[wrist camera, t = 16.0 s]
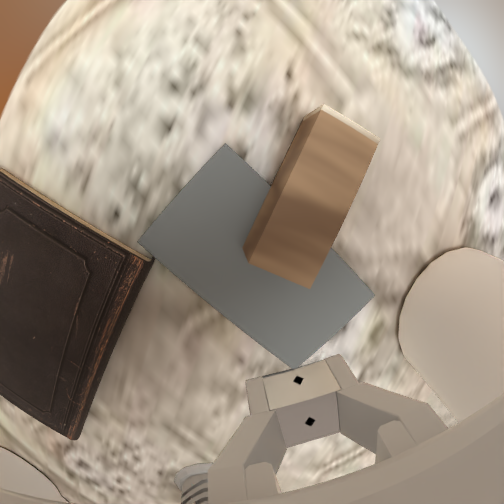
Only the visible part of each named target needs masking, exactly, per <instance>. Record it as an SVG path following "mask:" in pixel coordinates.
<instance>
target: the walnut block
mask: <svg viewBox="0 0 504 504" xmlns="http://www.w3.org/2000/svg"><path fill="white" fill-rule="evenodd" d="M379 140H380V138H379V137H377V136H376V135H374V134H372V133H371V132H369V131H368V130H366V129H365V128H363V127H362V126H360V125H358V124H357V123H355V122H354V121H352V120H350V119H349V118H347V117H345V116H344V115H342V114H340V113H339V112H337V111H335V110H334V109H332V108H330V107H328V106H327V105H325V104H323V105H322V106H320V107H318V108H317V109H315V110H314V111H312V112H311V113H309V114H308V115H306V116H305V117H304V119H303V121H302V123H301V125H300V127H299V129H298V131H297V133H296V135H295V137H294V139H293V142H292V144H291V146H290V148H289V150H288V152H287V154H286V156H285V158H284V160H283V162H282V165H281V167H280V169H279V171H278V173H277V175H276V177H275V179H274V181H273V183H272V186H271V188H270V190H269V192H268V194H267V196H266V198H265V200H264V202H263V205H262V207H261V209H260V211H259V213H258V215H257V217H256V219H255V222H254V224H253V226H252V228H251V230H250V232H249V234H248V236H247V239H246V241H245V243H244V245H243V247H242V249H243V251H244V254H245V256H246V258H247V261H248V263H249V264H252V265H254V266H256V267H259V268H261V269H263V270H266V271H268V272H270V273H273V274H275V275H277V276H280V277H282V278H285V279H287V280H289V281H292V282H294V283H296V284H299V285H301V286H303V287H306V288H308V289H310V288H311V286H312V284H313V282H314V280H315V278H316V276H317V274H318V272H319V270H320V269H321V267H322V265H323V263H324V261H325V259H326V257H327V255H328V253H329V250H330V248H331V246H332V244H333V242H334V240H335V238H336V236H337V234H338V232H339V230H340V228H341V226H342V224H343V221H344V219H345V217H346V215H347V213H348V211H349V209H350V207H351V204H352V202H353V200H354V198H355V196H356V193H357V191H358V189H359V187H360V185H361V182H362V180H363V178H364V176H365V173H366V171H367V169H368V166H369V164H370V162H371V159H372V157H373V155H374V152H375V150H376V148H377V145H378V143H379Z"/></svg>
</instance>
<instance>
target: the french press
mask: <svg viewBox="0 0 504 504" xmlns="http://www.w3.org/2000/svg"><path fill="white" fill-rule="evenodd" d="M212 464H213V463H202V464H195V465H192V466H188V467H184V468H183V469H182V470H180V471H179V472H178V473H176V475H175V479H174V482H175V484H176V485H177V487H178V489H179V490H181V491H182V496H181V504H192V503H194V502H195V504H208V470H209V468H210V467H211V465H212ZM191 498H192V499H191Z"/></svg>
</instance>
